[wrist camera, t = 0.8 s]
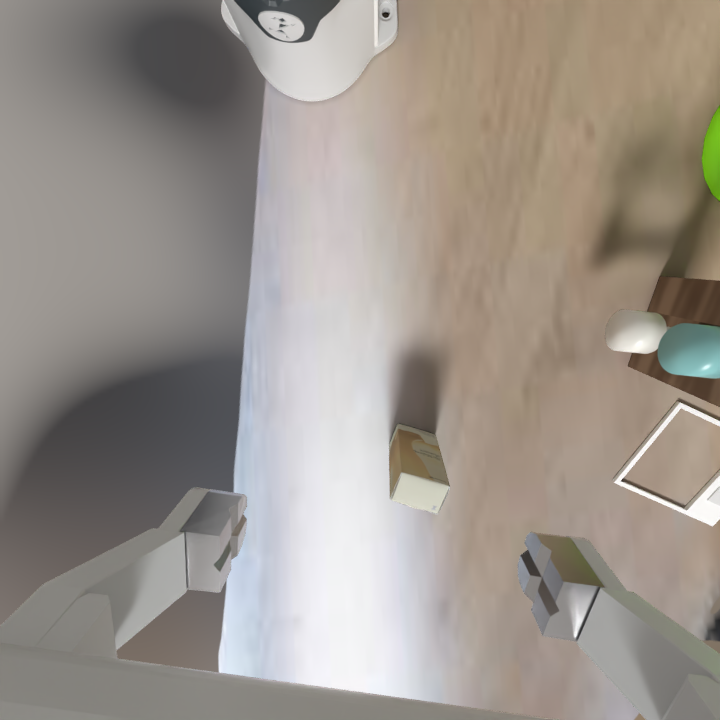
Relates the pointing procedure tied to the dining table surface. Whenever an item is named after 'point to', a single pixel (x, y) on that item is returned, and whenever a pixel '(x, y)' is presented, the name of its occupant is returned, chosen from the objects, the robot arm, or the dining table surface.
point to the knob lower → (635, 331)
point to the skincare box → (417, 470)
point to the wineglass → (712, 155)
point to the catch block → (679, 306)
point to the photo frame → (709, 502)
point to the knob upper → (691, 350)
